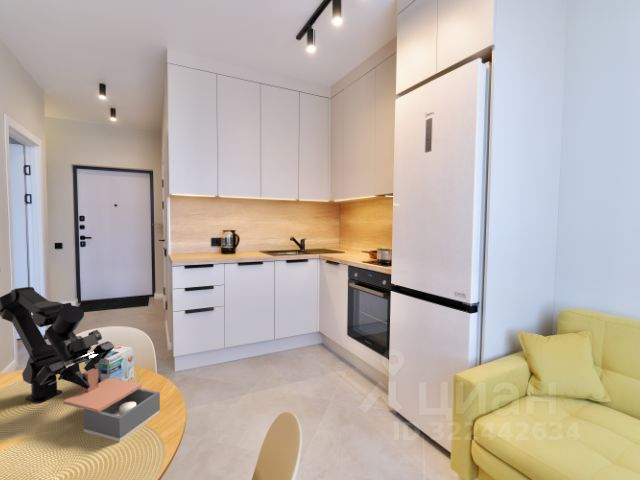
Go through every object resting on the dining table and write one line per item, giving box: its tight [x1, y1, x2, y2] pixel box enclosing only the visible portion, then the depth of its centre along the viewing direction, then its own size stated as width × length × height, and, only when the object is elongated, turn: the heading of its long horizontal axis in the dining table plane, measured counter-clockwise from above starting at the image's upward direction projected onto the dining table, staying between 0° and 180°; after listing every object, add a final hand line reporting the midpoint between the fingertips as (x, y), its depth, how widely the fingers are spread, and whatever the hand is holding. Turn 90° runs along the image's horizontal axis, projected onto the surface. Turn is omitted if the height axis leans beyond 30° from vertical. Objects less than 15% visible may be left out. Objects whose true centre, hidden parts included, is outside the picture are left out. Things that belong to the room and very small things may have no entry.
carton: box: [83, 387, 161, 443], centre depth 88 cm, size 12×13×6 cm
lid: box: [62, 369, 143, 413], centre depth 90 cm, size 12×13×6 cm
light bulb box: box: [99, 345, 135, 382], centre depth 109 cm, size 11×7×11 cm, turn 168°
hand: (94, 385), depth 91 cm, fingers closed on lid, 3 cm apart
